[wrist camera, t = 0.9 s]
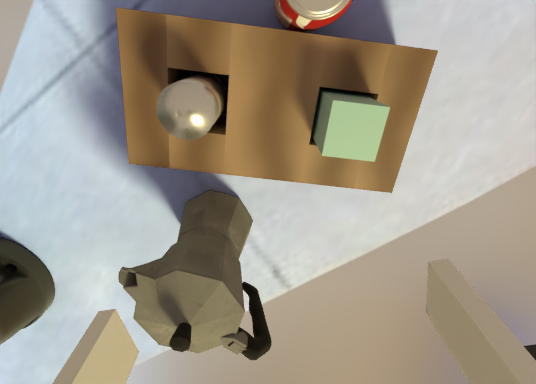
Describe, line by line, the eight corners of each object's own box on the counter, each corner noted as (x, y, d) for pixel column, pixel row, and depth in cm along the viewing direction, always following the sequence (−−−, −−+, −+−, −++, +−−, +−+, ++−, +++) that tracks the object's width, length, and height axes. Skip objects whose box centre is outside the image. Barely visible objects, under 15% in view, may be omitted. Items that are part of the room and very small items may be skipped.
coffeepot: (153, 217, 39) (68, 340, 22) (194, 164, 35) (131, 262, 19) (247, 278, 43) (234, 420, 27) (292, 235, 40) (308, 366, 23)
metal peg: (184, 115, 29) (157, 136, 22) (184, 70, 27) (155, 78, 20) (226, 120, 29) (213, 143, 22) (229, 76, 27) (215, 85, 20)
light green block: (309, 130, 29) (321, 155, 22) (317, 87, 27) (333, 100, 21) (350, 135, 29) (374, 161, 23) (360, 92, 28) (390, 107, 21)
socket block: (158, 139, 34) (128, 163, 27) (154, 17, 29) (115, 7, 22) (366, 163, 35) (391, 192, 28) (397, 50, 30) (438, 50, 23)
